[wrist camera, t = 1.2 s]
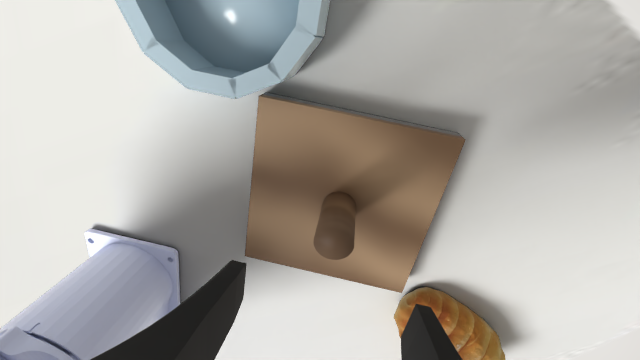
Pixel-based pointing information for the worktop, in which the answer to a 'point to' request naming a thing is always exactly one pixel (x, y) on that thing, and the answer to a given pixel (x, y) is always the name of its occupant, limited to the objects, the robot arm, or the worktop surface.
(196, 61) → the bowl
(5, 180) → the worktop surface
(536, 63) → the worktop surface
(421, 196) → the lid
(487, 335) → the pastry
